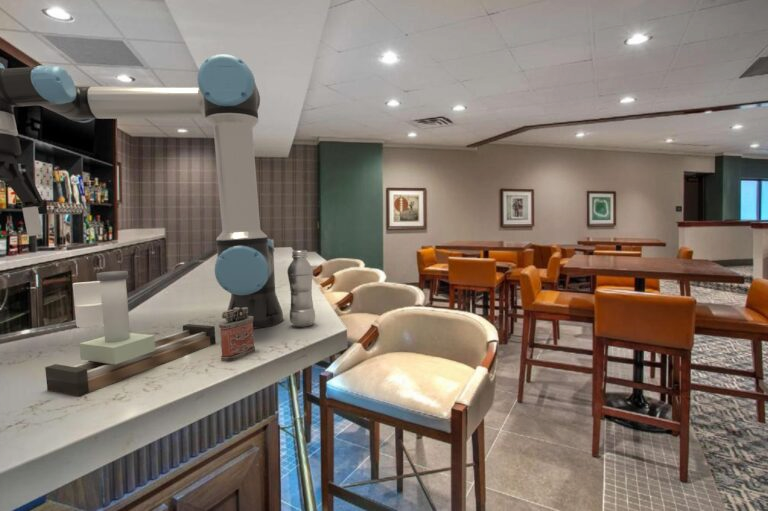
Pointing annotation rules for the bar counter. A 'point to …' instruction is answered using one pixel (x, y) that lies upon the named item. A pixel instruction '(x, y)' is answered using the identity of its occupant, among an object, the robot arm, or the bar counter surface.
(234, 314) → the lighter
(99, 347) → the carriage
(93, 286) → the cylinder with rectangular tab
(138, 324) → the bar counter surface
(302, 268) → the plastic bottle
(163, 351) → the rail track
